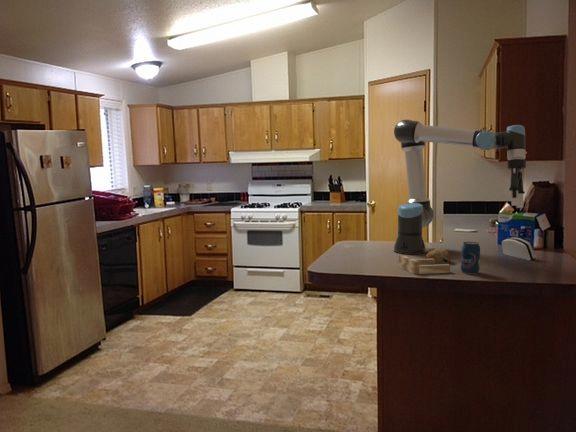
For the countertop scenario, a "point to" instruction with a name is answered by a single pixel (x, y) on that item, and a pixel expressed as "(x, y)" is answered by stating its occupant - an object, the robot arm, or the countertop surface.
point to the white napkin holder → (518, 248)
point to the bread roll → (439, 256)
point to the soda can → (470, 257)
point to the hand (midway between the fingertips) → (517, 206)
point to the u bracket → (422, 265)
